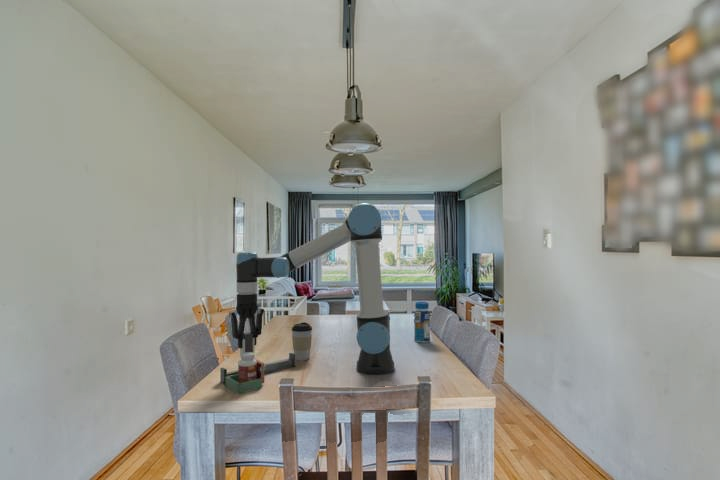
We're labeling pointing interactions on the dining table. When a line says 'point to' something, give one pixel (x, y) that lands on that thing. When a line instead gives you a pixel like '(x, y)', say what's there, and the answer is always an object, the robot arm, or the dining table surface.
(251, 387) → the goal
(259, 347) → the dining table surface
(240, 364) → the pill bottle
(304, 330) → the coffee cup
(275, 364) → the rail
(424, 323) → the beverage bottle
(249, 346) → the kicker
